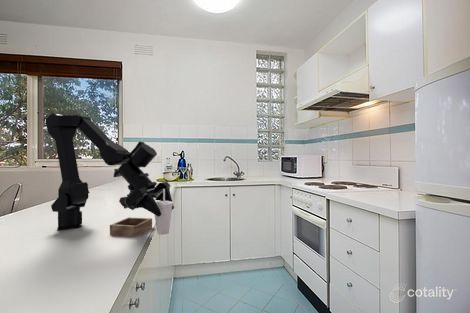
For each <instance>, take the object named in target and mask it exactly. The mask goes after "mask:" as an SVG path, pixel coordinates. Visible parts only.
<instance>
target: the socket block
mask: <svg viewBox="0 0 470 313" xmlns="http://www.w3.org/2000/svg"><path fill="white" fill-rule="evenodd" d="M152 228H153V218H151V217H150V218H146V217H145V218H144V217H129V216H128V217H126V218H123V219H121V220H118V221H117V222H113V223H112V224H109V235H110V236H125V237H126V236H127V237H128V236H129V237H138V236H140V235H141V234H143V233H145V232H146V231H148V230H150V229H152Z"/></svg>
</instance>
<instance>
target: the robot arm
mask: <svg viewBox="0 0 470 313" xmlns="http://www.w3.org/2000/svg"><path fill="white" fill-rule="evenodd" d="M45 126H46V129H47V131H48V132H47V133H48V134H49V136H51V137H52V138H53V140H54V141H55V145H56V151H57V157H58V158H57V159H58V163H59V169H60V175H61V183H60V185H59V187H58V189H57V191H58V192H57V195H58V197H57V198H56V199H55V200H54V202H53V203H52V204H51V206H50V207H51V211H52V212H54V213H57V229H56V230H57V231H61V230H69V229H74V228H81V226H82V224H83V211H81V208H84V207H85V206H86V203H87V200H88V199H89V194H90V191H89V190H90V189H89V184H88V182H87V181H86V182H85V181H82V180H81V178H80V174H79V167H78V161H77V156H76V151H75V144H74V138H75V136H76V134H77V130H80V132H82V134H83V135H84V136H86V137H87V139H88V140H89V141H90V142H91V143H92V144H93V145H94V146H95V147H96V148H97V150H99V156H100V157H101V159H102V160H103V162H104V164H106V165H108V166H119V167H118V168H114V173H113V177H114V178H119V177H122V178H123V179H124V180H125V181H126V182H127V184H128V185H127V188H128V190H129V193H128V194H126V196H122V197H120V198H119V202H118V203H119V204H120V205H121V206H122V207H123V209H130V210H131V211H135V209H140V208H141V209H144V210H147V212H150V213H151V214H153V215H154V216H155V215H157V216H158V217H159V216H161V212H160V209H159V207H158V205H157V204H156V202H157V201H163V189H165V201H172V202H173V198H172V195H171V194H172V193H171V191H170V189H171V184H170V183H169V182H168V181H161V182H158V183H157V182H156V181H152V180H151V179H150V177H149V176H150V174H149V173H148V172H144V171H143V170H142V169H141V168H146V167H147V166H148V165H149V164H150V163H151V162H152V160H154V158H155V157H156V156H157V155H158V154H157V151H156V150H155V149H154V148H153V147H151V146H150V145H149V144H146V143H145V142H144V141H139V142H137V144H136V146H135V147H134V148H133V149H132V150H131V152H130V151H129V150H128V149H127V148H125V147H124V146H123V145H121V144H118V143H117V142H114V141H113V140H111V139H110V138H109V137H108V136H107V134H106V133H104V132H103V131H102V130H101V129H100V128H99V127H98V126H97V124H95V122H93V121H92V119H91V117H89V116H88V115H83V114H71V115H70V114H69V115H68V114H65V115H63V114H58V113H51V114H49V115H48V116H47V117H46V119H45ZM174 209H175V206H174V204H173V206H172V211H173V210H174Z"/></svg>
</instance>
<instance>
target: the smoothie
mask: <svg viewBox="0 0 470 313" xmlns="http://www.w3.org/2000/svg"><path fill="white" fill-rule="evenodd" d="M155 202H156V204H157V205H158V207H159V209H160V212H161V216H159V217H158V216H157V215H155V214H154V220H155V226H156V233H157V235H159V236H160V235H161V236H162V235H167V234H168V235H169V233H170V229H171V220H172V212H173V210H172V206H173V205H174V202H173V200H172V201H165V189H163V201H160V200H157V201H155Z"/></svg>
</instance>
